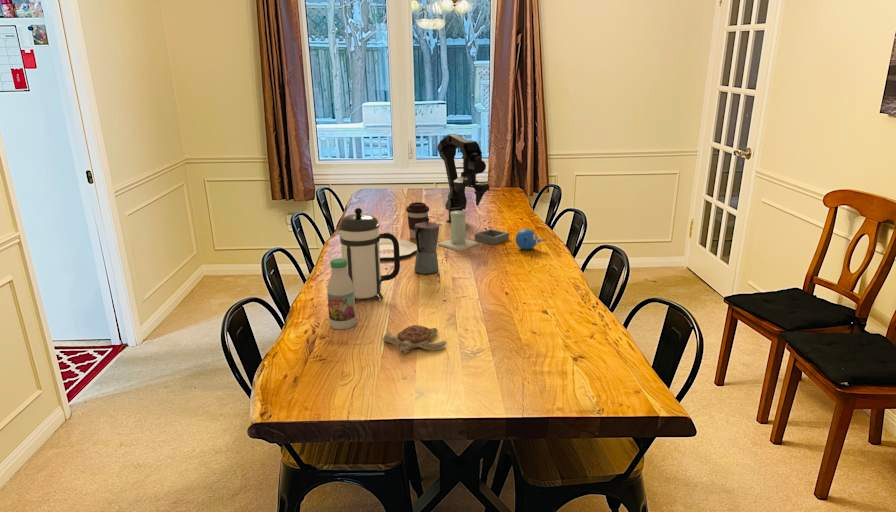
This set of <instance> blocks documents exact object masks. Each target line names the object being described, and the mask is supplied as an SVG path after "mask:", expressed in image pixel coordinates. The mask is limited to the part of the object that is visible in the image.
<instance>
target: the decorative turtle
mask: <svg viewBox="0 0 896 512" xmlns="http://www.w3.org/2000/svg"><path fill="white" fill-rule="evenodd" d="M438 332H439V331H438V328H436V327H431V328H429V327H426V326H423V325H418V324H413V325H409V326H407V327H406V328H404V329H403V330H401V331H400V332H398V333H397V336H392V334H391V332H390V331H388V332H386V333H385V334H384V335H383V338H382V339H383V341H384V342H387V343H390V344H394V345H398V344H399V351H400V354H404V355H405V354H408V353H409V352H410V351H411V350H413V349H417V348H420V349H424V350H441V349H443V348H444V347H445V346H446V345H447V343H448V342H447V341H445V340H440V341H439V342H429V341H430V340H429V339H430V338H431V336H432V335H436V334H437V333H438Z"/></svg>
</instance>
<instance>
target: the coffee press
mask: <svg viewBox="0 0 896 512" xmlns="http://www.w3.org/2000/svg"><path fill="white" fill-rule="evenodd" d="M380 224H381V223H380V221H378V219H377V217H376V216H374V215H372V214H369V213H363V210H362V209H361V208H360V207H357V208H355V209H354V214H348V215H346V216H344V217H343V218H342V219H341V220H340V221H339V224H338V227H337V229H336V230H335V233H334V236H339V243H340V246H341V247H340V249H341V258H342V259H346V261H347V268H346V269H347V273H348V275H349V277H350V279H351V281H352V283H353V287H354V296H355V301H356V300H357V299H362V300H363V299H370V298H373V297H374V298H375V299H376V300H377V301H379V302H380V301H383V300H384V296H383V294H382V293H381V291H382V282H385V281H391V280H393V279H395V278H396V277H397V276H398V275H399V272H400V269H401V268H400V267H401V260H400V258H401V257H400V253H399V243H398V240H397V239H398V238H397V237H396V236H395V235H394V234H392V233H389V232H383V233H380V232H379V227H380ZM380 239H390V240H391V241H392V242H393V247H394V250H393V252H394V259H393V264H394V265H393V266H394V267H393V270H392V272H391V273H389V274H384V275H382V274H381V273H382V272H381V259H380V253H381V252H380V250H379V241H380Z"/></svg>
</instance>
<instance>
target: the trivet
mask: <svg viewBox="0 0 896 512" xmlns="http://www.w3.org/2000/svg"><path fill="white" fill-rule="evenodd" d="M479 242H480V241H476V240H471V239H469V238H468V239H467V238H466V243H465V244H461V245H456V244H452V243H451V238H450V239H447V240H443V241H441V242H437V246H440V247H443V248H446V249H451V250H455V251H458V252H461V251H464V250H467V249H469V248H473V247H475V246H478V245H479Z"/></svg>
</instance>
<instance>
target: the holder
mask: <svg viewBox="0 0 896 512" xmlns="http://www.w3.org/2000/svg"><path fill="white" fill-rule="evenodd" d="M508 240H510V233H509V232H506V231H503V230H498V229H493V228H488V229H485V230H481V231H478V232H476V233H474V241H476V242H480V243H484V244H489V245H493V246H494V245H498V244H501V243H503V242H505V241H508Z"/></svg>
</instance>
